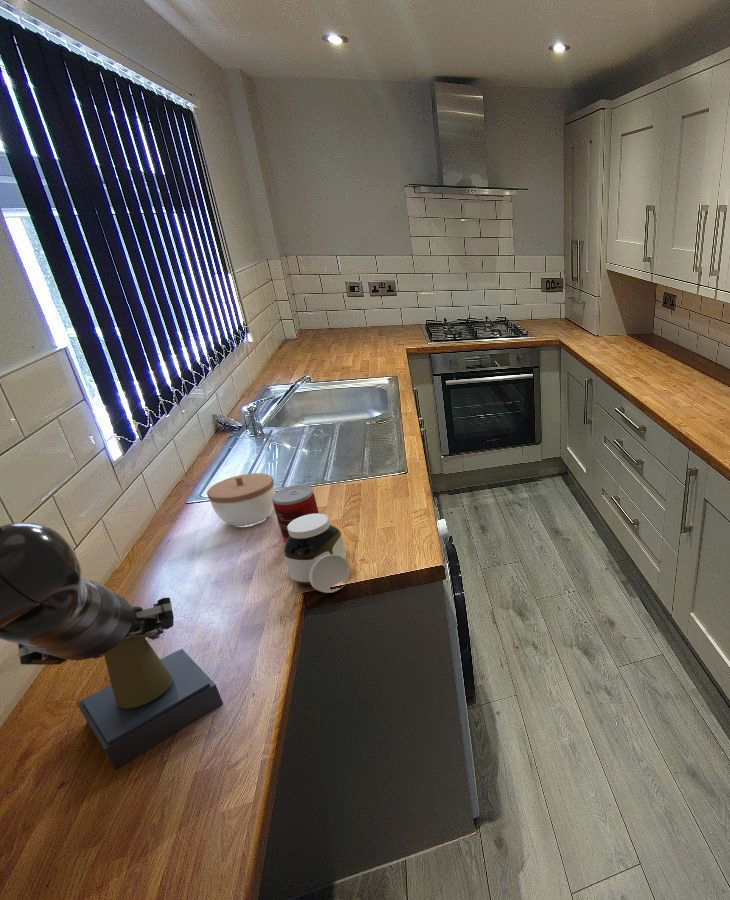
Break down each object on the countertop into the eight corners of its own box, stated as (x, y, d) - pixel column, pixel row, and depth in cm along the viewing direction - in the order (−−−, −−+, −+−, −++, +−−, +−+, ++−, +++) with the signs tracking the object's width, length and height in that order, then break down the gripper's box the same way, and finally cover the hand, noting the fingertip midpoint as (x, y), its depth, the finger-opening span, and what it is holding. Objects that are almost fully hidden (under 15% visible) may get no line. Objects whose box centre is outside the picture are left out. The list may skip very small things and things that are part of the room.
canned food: (318, 524, 119) (307, 481, 115) (328, 539, 113) (317, 494, 109) (280, 536, 115) (268, 491, 110) (288, 552, 109) (275, 506, 105)
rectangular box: (115, 770, 65) (103, 747, 63) (87, 722, 71) (75, 700, 70) (223, 703, 74) (215, 682, 72) (189, 666, 80) (181, 646, 79)
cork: (113, 689, 71) (82, 625, 67) (169, 665, 75) (142, 603, 71) (117, 716, 67) (84, 649, 63) (176, 689, 71) (148, 624, 67)
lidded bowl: (269, 531, 116) (256, 487, 112) (207, 537, 115) (191, 492, 110) (291, 504, 128) (279, 463, 124) (235, 509, 126) (221, 467, 122)
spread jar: (320, 557, 107) (307, 507, 102) (371, 562, 105) (360, 512, 101) (277, 595, 96) (261, 541, 92) (333, 601, 94) (319, 546, 90)
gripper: (152, 562, 61) (188, 593, 74) (-27, 611, 53) (49, 635, 67) (165, 624, 59) (199, 645, 72) (-20, 684, 51) (57, 694, 65)
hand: (127, 640), depth 69 cm, fingers closed on cork, 5 cm apart
